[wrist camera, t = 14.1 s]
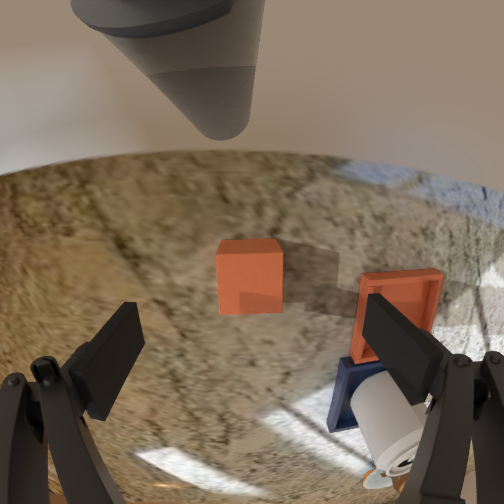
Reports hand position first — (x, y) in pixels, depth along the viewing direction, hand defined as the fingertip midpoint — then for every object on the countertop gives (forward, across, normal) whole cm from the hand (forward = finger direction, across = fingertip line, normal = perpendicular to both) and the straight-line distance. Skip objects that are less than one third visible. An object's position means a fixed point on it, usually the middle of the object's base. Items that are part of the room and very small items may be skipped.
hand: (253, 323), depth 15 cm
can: (+10, +15, -16) cm, 24 cm away
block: (+10, 0, 0) cm, 10 cm away
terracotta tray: (+10, +15, -6) cm, 19 cm away
